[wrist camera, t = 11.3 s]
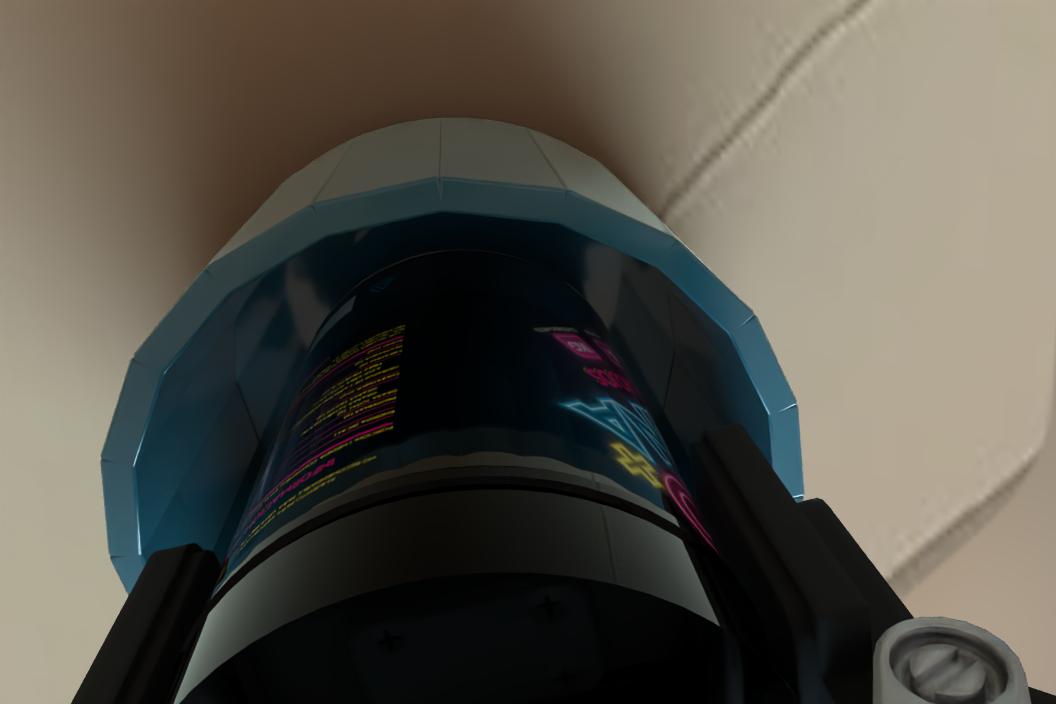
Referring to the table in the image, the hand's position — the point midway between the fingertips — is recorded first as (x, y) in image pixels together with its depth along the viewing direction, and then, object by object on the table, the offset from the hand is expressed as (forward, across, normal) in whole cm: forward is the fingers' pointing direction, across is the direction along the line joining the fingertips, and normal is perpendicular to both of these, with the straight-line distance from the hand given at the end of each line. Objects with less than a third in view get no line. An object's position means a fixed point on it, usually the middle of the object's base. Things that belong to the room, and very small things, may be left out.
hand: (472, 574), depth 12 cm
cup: (+8, 0, 0) cm, 8 cm away
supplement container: (+6, 0, 0) cm, 6 cm away
